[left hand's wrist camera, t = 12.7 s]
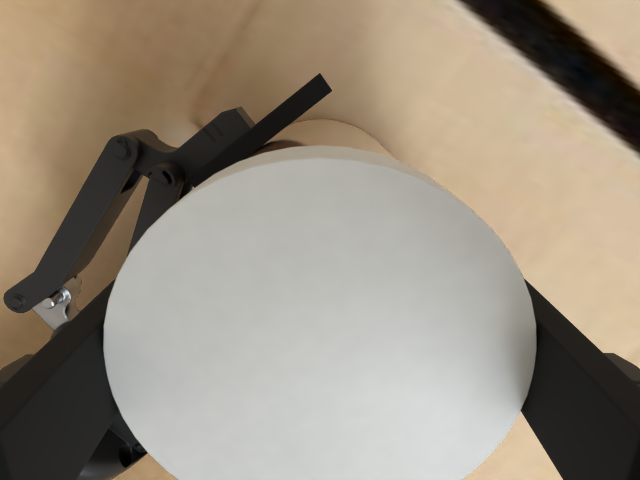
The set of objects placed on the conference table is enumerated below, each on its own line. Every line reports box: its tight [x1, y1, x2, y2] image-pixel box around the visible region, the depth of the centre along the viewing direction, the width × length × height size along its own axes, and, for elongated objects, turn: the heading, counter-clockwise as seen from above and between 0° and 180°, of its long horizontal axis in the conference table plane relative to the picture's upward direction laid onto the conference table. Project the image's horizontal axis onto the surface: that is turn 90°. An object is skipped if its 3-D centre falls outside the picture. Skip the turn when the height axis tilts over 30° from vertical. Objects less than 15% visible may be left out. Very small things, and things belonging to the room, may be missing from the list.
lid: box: [103, 145, 537, 480], centre depth 11 cm, size 11×11×2 cm
